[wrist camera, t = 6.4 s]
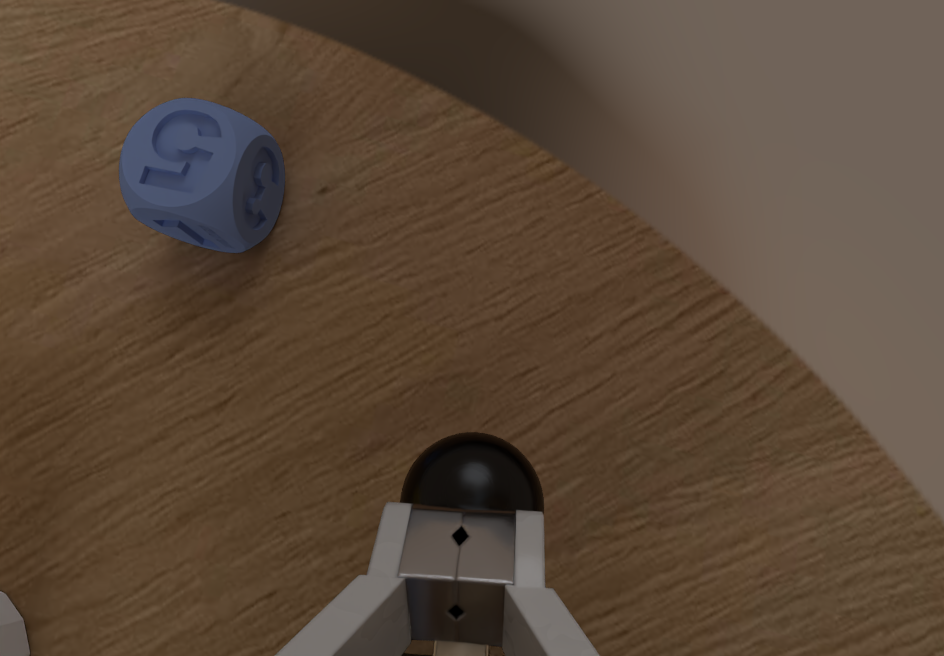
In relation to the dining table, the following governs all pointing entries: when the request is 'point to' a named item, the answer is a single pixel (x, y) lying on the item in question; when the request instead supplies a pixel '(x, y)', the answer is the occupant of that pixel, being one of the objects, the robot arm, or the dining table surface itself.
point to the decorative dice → (203, 175)
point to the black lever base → (413, 655)
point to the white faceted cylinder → (12, 630)
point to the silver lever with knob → (472, 489)
